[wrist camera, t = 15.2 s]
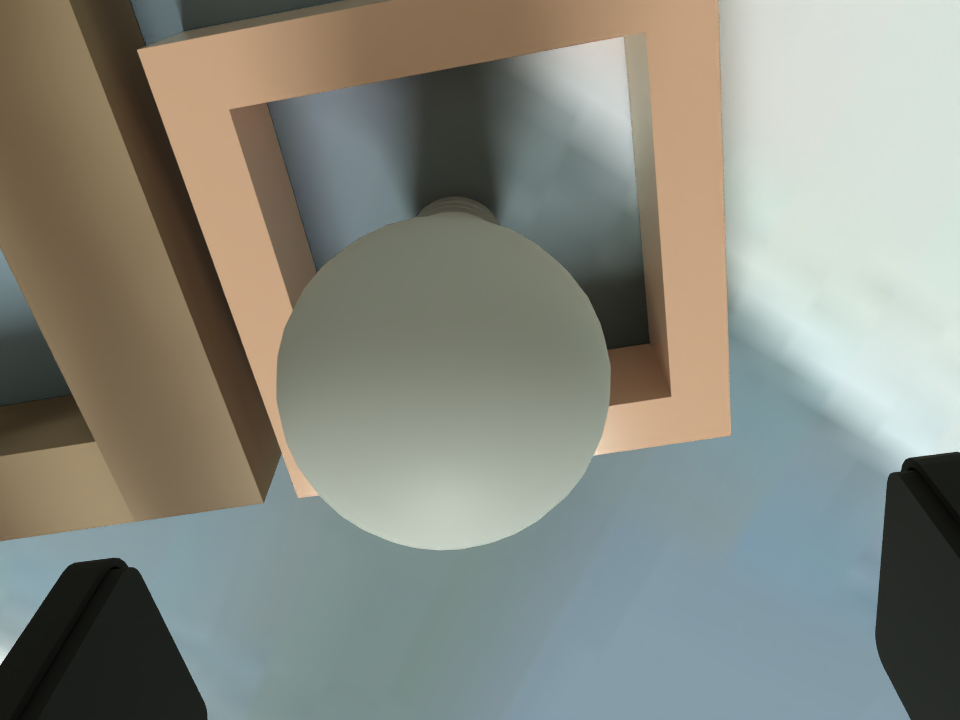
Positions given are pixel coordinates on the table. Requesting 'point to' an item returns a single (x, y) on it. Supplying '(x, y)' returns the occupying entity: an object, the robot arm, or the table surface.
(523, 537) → the table surface
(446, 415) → the lightbulb
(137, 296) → the walnut holder
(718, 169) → the terracotta stand
